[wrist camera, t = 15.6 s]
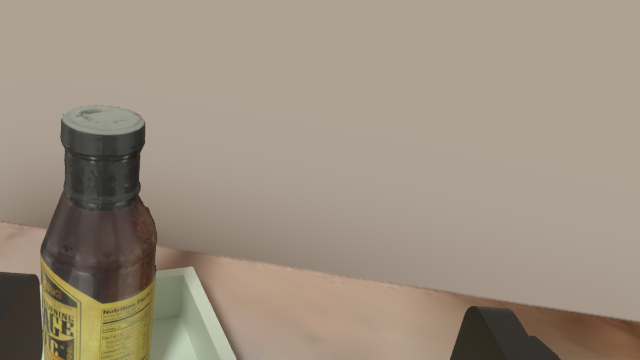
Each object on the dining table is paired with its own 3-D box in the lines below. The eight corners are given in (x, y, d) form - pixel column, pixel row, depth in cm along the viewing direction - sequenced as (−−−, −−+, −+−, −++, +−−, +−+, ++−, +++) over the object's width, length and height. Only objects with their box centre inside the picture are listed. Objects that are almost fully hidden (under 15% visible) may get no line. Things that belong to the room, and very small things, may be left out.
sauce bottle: (43, 376, 38) (30, 92, 30) (138, 357, 40) (150, 95, 33) (49, 454, 32) (36, 137, 24) (158, 426, 35) (177, 135, 27)
